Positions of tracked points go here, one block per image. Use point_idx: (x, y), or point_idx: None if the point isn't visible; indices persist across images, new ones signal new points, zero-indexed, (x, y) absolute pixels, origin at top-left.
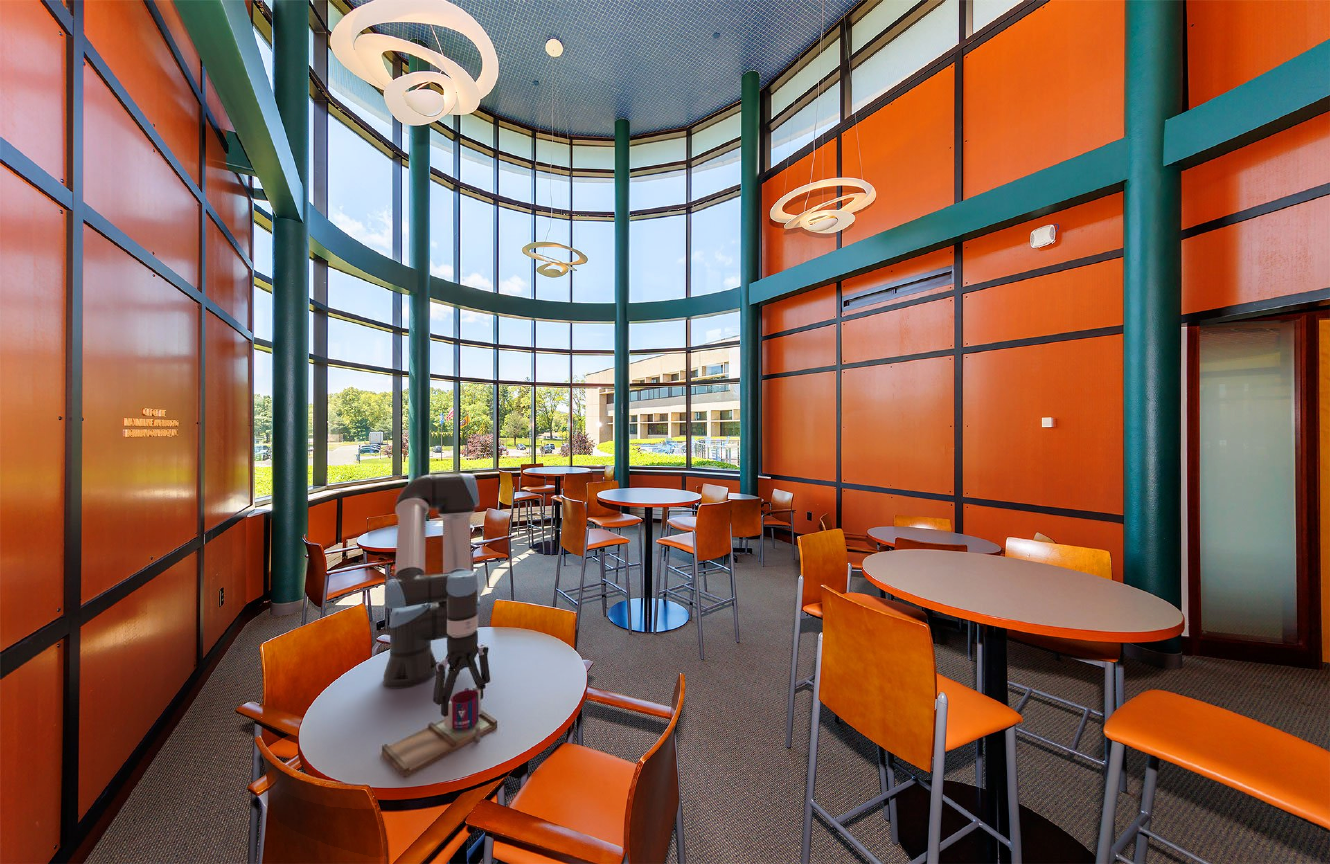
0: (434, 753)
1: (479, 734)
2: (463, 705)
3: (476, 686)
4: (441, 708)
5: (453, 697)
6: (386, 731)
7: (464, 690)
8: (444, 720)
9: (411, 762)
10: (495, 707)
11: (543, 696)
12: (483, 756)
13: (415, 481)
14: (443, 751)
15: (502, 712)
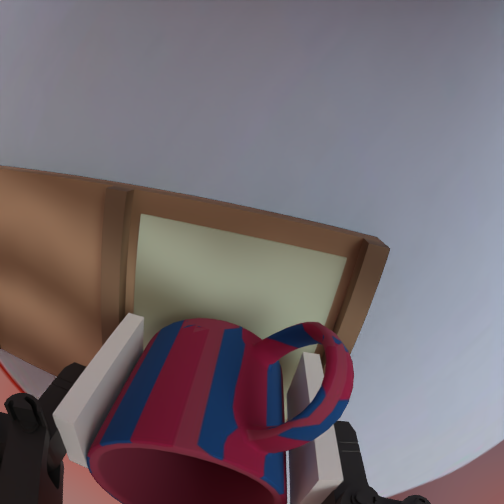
0: (61, 365)
1: None
2: (139, 500)
3: (332, 495)
4: (48, 393)
5: (123, 444)
6: (53, 25)
7: (243, 467)
8: (117, 328)
9: (7, 327)
10: (423, 329)
11: (494, 404)
12: None
13: None
14: None
15: (395, 380)
